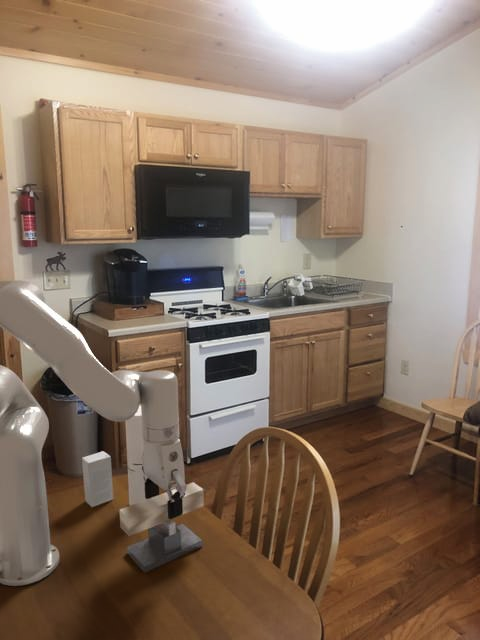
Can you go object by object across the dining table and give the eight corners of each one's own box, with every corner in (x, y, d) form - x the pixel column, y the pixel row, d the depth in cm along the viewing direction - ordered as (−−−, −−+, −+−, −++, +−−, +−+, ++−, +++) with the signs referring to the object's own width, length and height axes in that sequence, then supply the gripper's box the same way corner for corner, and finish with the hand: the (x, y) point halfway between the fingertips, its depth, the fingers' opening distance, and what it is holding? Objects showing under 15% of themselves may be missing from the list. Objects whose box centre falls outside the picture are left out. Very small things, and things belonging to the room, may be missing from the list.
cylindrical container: (152, 514, 126) (148, 416, 122) (124, 511, 128) (119, 414, 123) (162, 498, 133) (159, 406, 128) (136, 496, 135) (132, 404, 130)
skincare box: (106, 493, 136) (103, 450, 134) (113, 499, 133) (111, 456, 131) (84, 501, 132) (81, 457, 130) (91, 508, 129) (88, 463, 127)
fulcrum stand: (144, 572, 105) (143, 537, 104) (126, 553, 112) (125, 519, 110) (202, 546, 114) (201, 513, 112) (182, 529, 120) (181, 497, 119)
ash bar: (129, 536, 104) (128, 518, 103) (120, 527, 107) (119, 509, 107) (203, 506, 115) (203, 489, 114) (193, 498, 118) (193, 482, 117)
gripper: (199, 439, 103) (200, 518, 106) (156, 414, 116) (158, 484, 120) (166, 450, 99) (168, 531, 102) (125, 422, 112) (128, 495, 115)
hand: (163, 506), depth 111 cm, fingers open, 9 cm apart
